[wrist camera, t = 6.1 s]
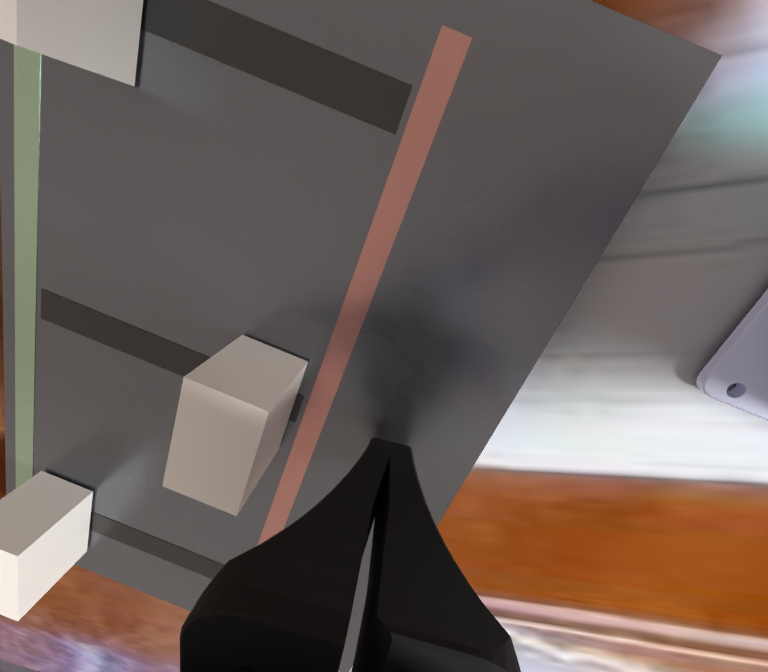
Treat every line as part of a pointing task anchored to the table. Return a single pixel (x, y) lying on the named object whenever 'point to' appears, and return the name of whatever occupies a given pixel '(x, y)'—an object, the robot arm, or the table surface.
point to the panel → (308, 241)
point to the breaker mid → (231, 422)
